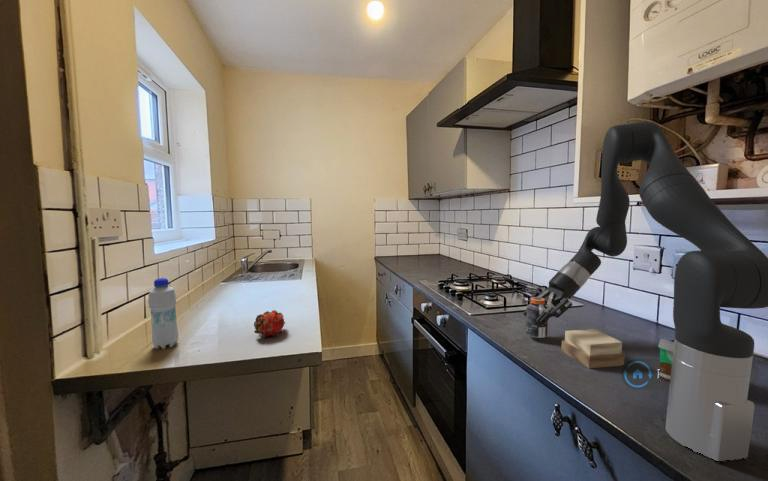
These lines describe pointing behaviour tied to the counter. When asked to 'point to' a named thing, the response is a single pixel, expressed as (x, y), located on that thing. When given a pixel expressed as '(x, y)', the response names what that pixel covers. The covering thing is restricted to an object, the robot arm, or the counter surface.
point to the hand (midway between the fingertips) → (531, 319)
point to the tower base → (592, 358)
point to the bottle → (163, 314)
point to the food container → (666, 359)
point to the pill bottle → (532, 314)
